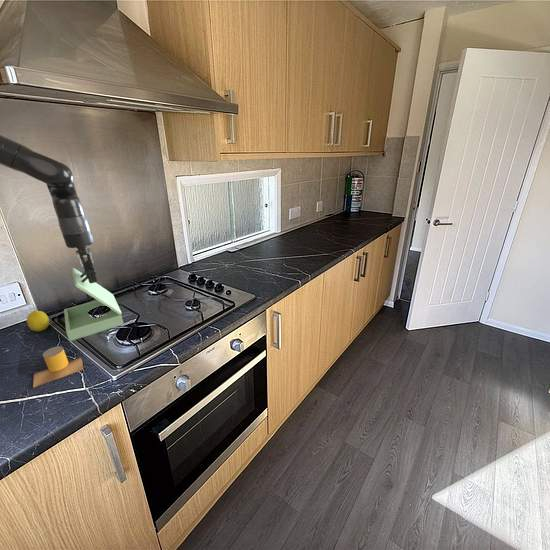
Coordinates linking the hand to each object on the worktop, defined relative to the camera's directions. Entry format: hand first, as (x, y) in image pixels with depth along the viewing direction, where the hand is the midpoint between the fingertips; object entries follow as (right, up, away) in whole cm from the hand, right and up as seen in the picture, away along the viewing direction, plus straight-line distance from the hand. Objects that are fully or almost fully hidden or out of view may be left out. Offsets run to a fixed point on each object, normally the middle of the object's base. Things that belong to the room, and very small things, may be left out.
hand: (92, 279), depth 97 cm
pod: (+1, -24, -16) cm, 29 cm away
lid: (0, -4, +2) cm, 5 cm away
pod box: (-2, -15, +5) cm, 16 cm away
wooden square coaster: (+1, -24, -16) cm, 29 cm away
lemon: (-17, -18, +1) cm, 25 cm away
